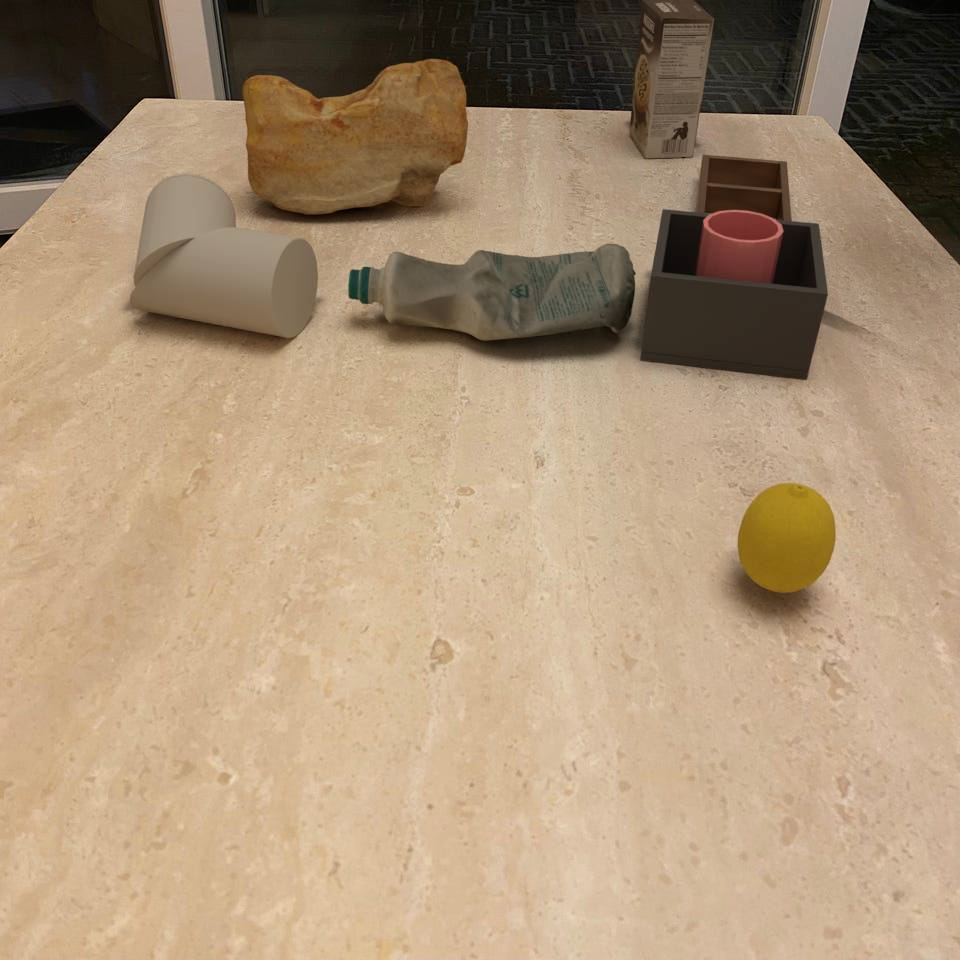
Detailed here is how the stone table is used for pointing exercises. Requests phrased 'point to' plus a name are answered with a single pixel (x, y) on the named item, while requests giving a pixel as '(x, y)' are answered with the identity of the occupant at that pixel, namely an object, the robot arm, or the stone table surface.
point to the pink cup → (739, 246)
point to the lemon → (786, 537)
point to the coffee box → (669, 77)
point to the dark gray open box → (734, 304)
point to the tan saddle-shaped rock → (355, 139)
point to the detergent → (504, 292)
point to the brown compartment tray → (744, 186)
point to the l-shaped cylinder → (219, 263)
